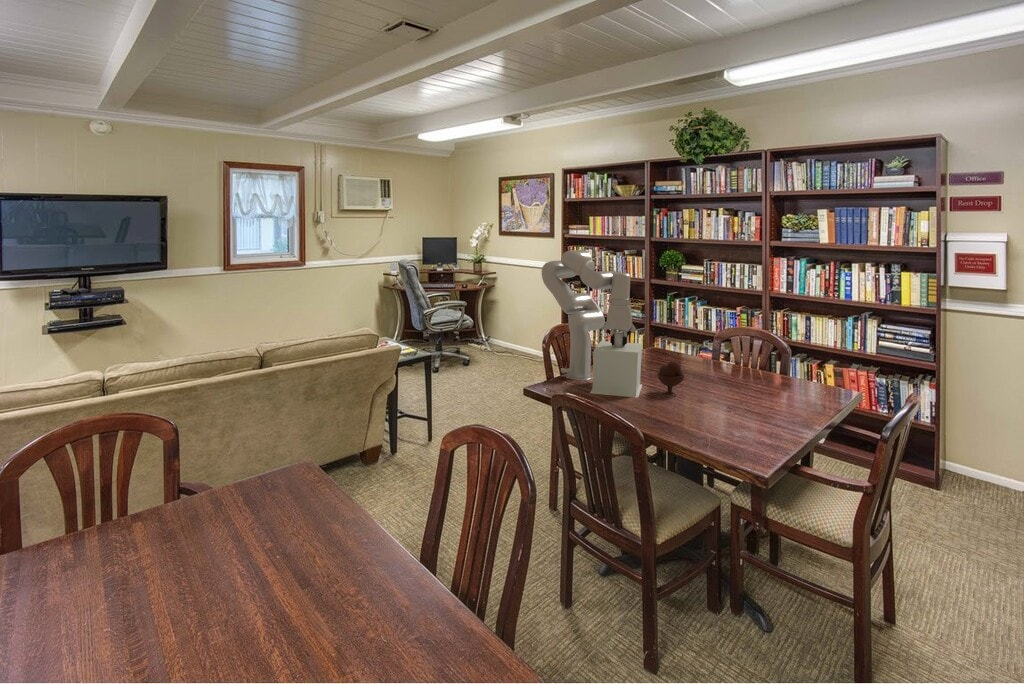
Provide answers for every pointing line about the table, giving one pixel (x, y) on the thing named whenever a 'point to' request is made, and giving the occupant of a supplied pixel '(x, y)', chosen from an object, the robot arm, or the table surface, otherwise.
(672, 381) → the ice cream bowl
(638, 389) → the mat
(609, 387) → the cover
